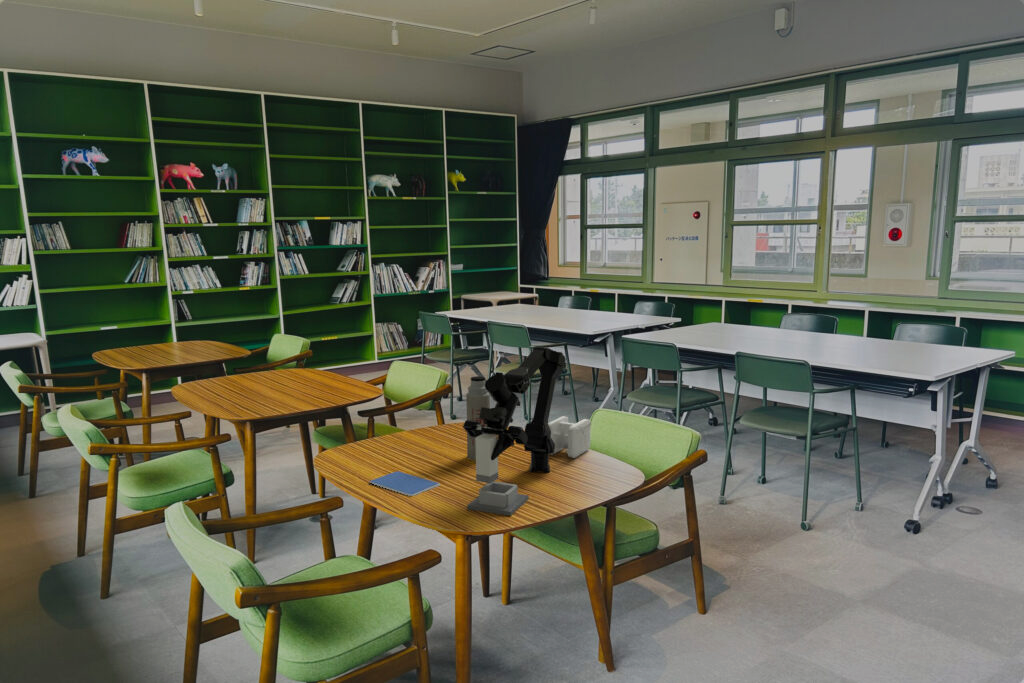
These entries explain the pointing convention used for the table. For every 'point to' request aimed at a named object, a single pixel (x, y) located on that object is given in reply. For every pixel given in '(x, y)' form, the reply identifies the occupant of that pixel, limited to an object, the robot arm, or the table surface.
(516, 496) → the socket
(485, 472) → the plug
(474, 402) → the thermos bottle
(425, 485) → the blue spiral notebook
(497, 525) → the table surface
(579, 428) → the cable organizer
